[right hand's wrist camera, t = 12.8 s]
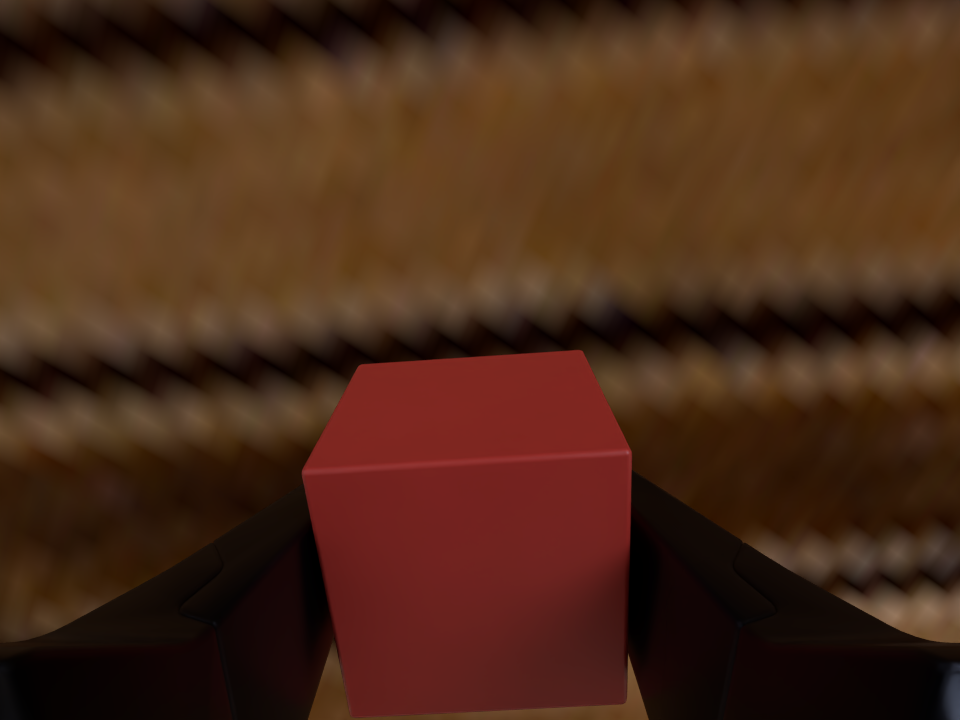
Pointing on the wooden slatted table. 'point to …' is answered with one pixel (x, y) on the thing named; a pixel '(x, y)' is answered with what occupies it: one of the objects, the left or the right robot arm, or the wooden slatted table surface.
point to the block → (475, 535)
